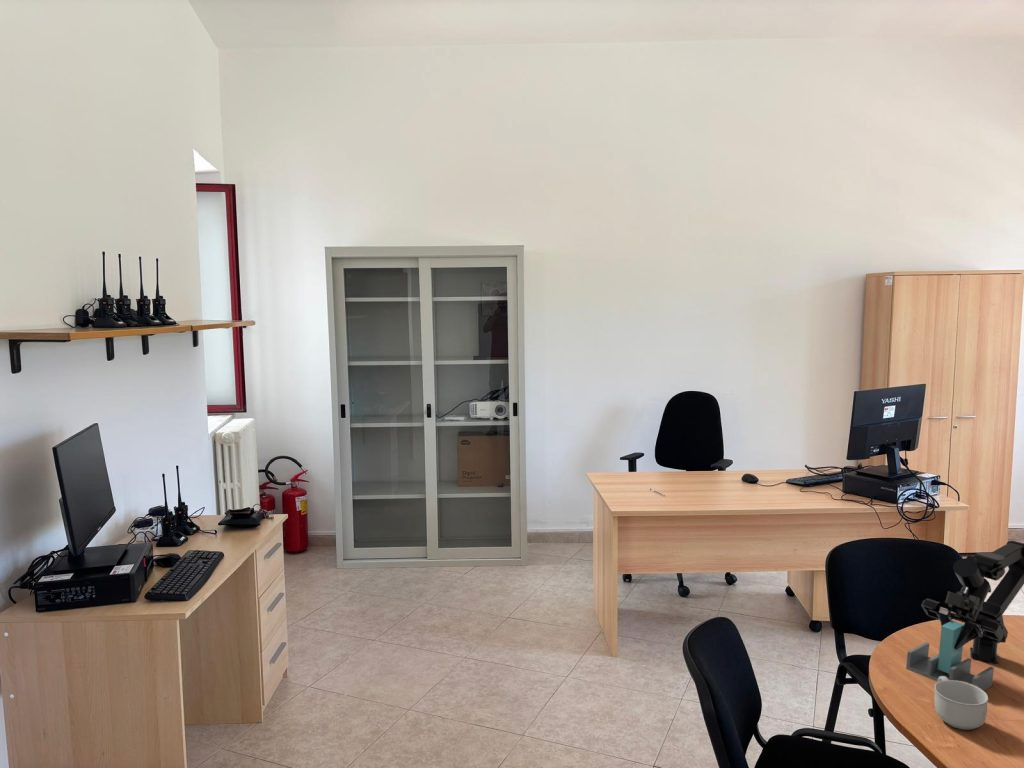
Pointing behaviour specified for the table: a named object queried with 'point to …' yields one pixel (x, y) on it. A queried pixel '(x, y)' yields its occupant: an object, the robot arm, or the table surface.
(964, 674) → the rack
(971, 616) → the robot arm
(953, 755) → the table surface
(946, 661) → the block
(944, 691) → the teacup
